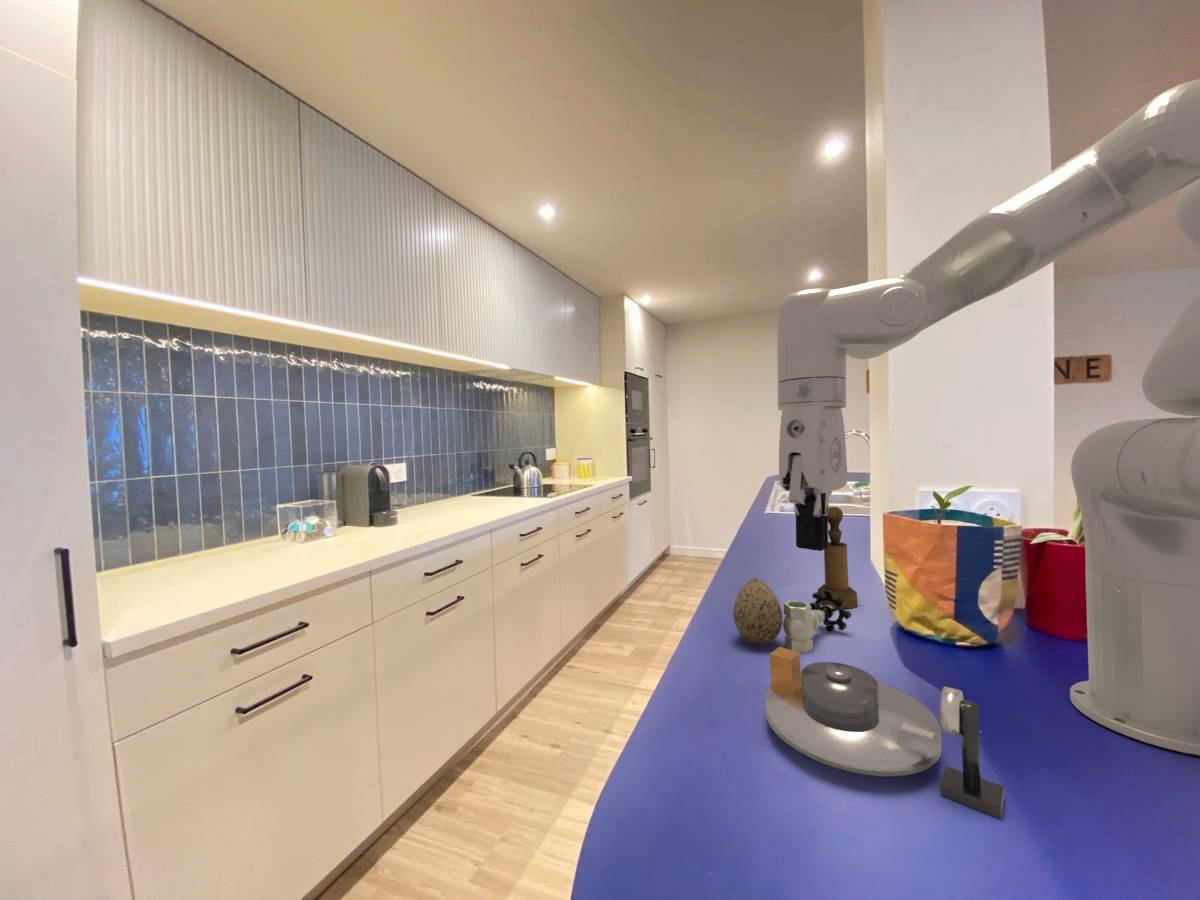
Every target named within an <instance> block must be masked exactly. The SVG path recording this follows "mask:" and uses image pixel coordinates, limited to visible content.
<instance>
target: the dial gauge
mask: <svg viewBox="0 0 1200 900" xmlns="http://www.w3.org/2000/svg"><path fill="white" fill-rule="evenodd" d="M939 702H940V704H939V720H940V721H939V725H940V729H941V731H944V732H946V733H949V734H952V735H956V736H959V737H961V762H962V766H961V767H962V770H959V769H956V768H954V767H952V766H948V765H946V766H945V769H944V771H943V775H942V777H941V781H940V783H939V785H940V787H939V789H940V796H942V797H945V798H947V799H949V800H951V801H954V802H957V803H958V804H959V803H960V804H962V805H963V806H967V807H969V808H971V809H974V810H977V811H978V812H981V813H984V814H987V815H990V816H992V817H995V818H997V819H1000V820H1002V815H1003V810H1004V803H1005V786H1004V785H1000V784H998V783H995V782H992V781H989V780H987V779H984V778H981V756H980V754H981V753H980V752H981V751H980V733H979V732H980V728H979V726H980V724H979V723H980V722H979V705H978V704H977V703H975V702H974V701H970V700H967V699H965V700H964V695H963V691H962V690H960V689H956V688H953V687H949V686H948V687H947V686H942V689H941V695H940V701H939Z"/></svg>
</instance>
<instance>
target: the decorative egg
mask: <svg viewBox="0 0 1200 900" xmlns="http://www.w3.org/2000/svg"><path fill="white" fill-rule="evenodd" d="M732 613H733V622H734V624H735V628H736V630H737V632H738V633H739V635H740V636H741V637H742V638H743V640H744V641H746V642H748V643H750V644H752V645H755V646H765V645H768V644H770V643H772V642H773V641H774V640H775V639H777V637H778V636H779V634H780V632H781V630H782V628H783V627H782V626H783V612H782V607H781V605H780V601H779V600H778V598H777V596H776V595H775V593H774V591H773V590H772V589H771V587H770V586H768V584H767V583H765V582H764V581H763V580H762V579H760V578H757V577H756V578H755V577H754V578H752V579H750V580H748V581H747V582H746V583H745V584H744V586H743V587H741V589H740V591H739V592H738V594H737V596H736V598H735V601H734V605H733V612H732Z"/></svg>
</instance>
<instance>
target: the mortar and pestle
mask: <svg viewBox="0 0 1200 900" xmlns="http://www.w3.org/2000/svg"><path fill="white" fill-rule="evenodd" d="M824 516H828V525H829V527H830V529H828V538H829V539H830V540H829V541H828V547H827V548H826V549H824V550H823V555H824V557H823V558H824V584H822V585H821V586H820V587H818V589H817V592H820V593H821V595H822V596H826V594H824V592H825V591H826V590H832V591H833V598H835V599H836V600H837V599H838V598H840V597H843V598H844V599H845V600H846V603H845V604H844V605H842V607H843V608H848V609H854V608H856V607H858V593H857V591H856V590H854V588H852V587H851V586H850V585H849V569H848V544H847V543H844V542H841V539H842V531H841V530H840V523H841V522H842V520H843V518H844V512H843V510H842V509H841V508H839V507H837V506H829V510H828V515H824ZM821 603H822V604H824V605H831V606H832V607H833V608H834V607H836V605H835V604H834V603H833V602H831V601H828V600H824V601H822V602H821ZM822 604H821V605H822ZM824 605H823V606H824ZM853 607H854V608H853Z"/></svg>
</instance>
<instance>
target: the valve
mask: <svg viewBox="0 0 1200 900" xmlns="http://www.w3.org/2000/svg"><path fill="white" fill-rule="evenodd" d="M824 594H826V596H822V595H821V593H820V592H818V591H815V592H813V593H812V595H811V596H812V598H813V599H816V600H815V602H814V601H813V602H811V603H808V602H805V601H802V600H788V601H786V602H784V603H783V615H784V618H783V620H782V626H783V627H782V628H783V631H784V633H785V635H784V644H785V647H786V648H787V647H788V648H787V649H789V650H793V651H796V652H800V653H801V654H802V653H803V654H807V653H809V652H811V651H812V650H814V646H813V645H814V642H813V638H812V636H813V634H814V631H816V630H818V629H819V628H820V626H821V623H822V622H823V624H824V625H825V627H824V629H825V630H826V631H827V632H829V633H830V632H833V631H834V630H835V627H836V625H837V626H838V628H837V629H838V630H839V631H843V630H845V629H847V627H848V626H847V623H846V622H845V621H844V619H845V620H849V619H850V618H852V616H853V615H852V612H851V611H849V610H845V609H843V607H842V605H844V604H845V603H846V600H845V599H844V598H843V597H840V598H838V599H837V600H836V599H835V598H833V591H832V590H826V591H825V592H824ZM824 600H828V601H831V602H833V603H834V604H835V605H836V607H832V606H831V605H822V604H821V602H822V601H824ZM821 605H822V606H821ZM837 611H838V617H837V619H835V620H831V618H833V616H834V615H836V612H837Z"/></svg>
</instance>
